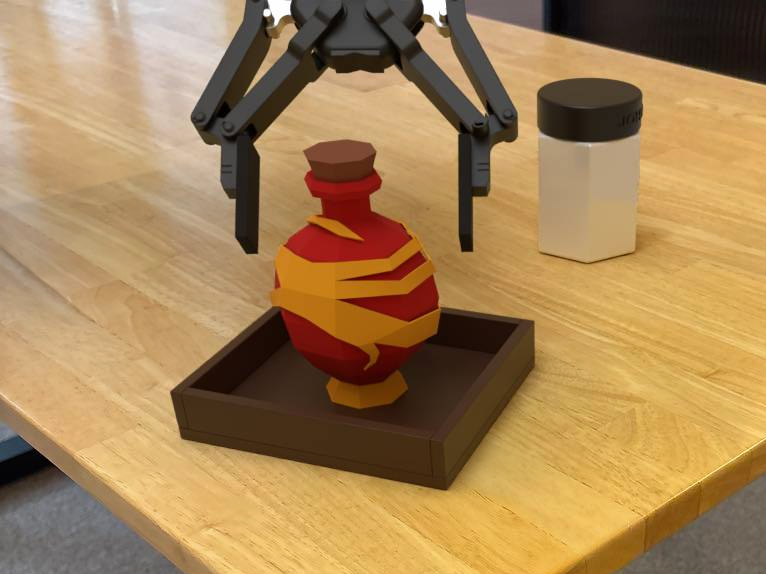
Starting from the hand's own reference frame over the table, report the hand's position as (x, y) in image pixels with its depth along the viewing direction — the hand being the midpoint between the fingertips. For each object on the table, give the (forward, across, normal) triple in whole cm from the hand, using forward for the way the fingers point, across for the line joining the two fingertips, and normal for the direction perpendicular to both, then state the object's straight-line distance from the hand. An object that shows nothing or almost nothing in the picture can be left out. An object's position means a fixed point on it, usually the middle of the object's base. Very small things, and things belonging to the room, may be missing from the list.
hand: (356, 245), depth 67 cm
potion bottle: (+8, 0, -3) cm, 9 cm away
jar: (-9, -16, -22) cm, 28 cm away
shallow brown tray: (+9, 0, -4) cm, 10 cm away
